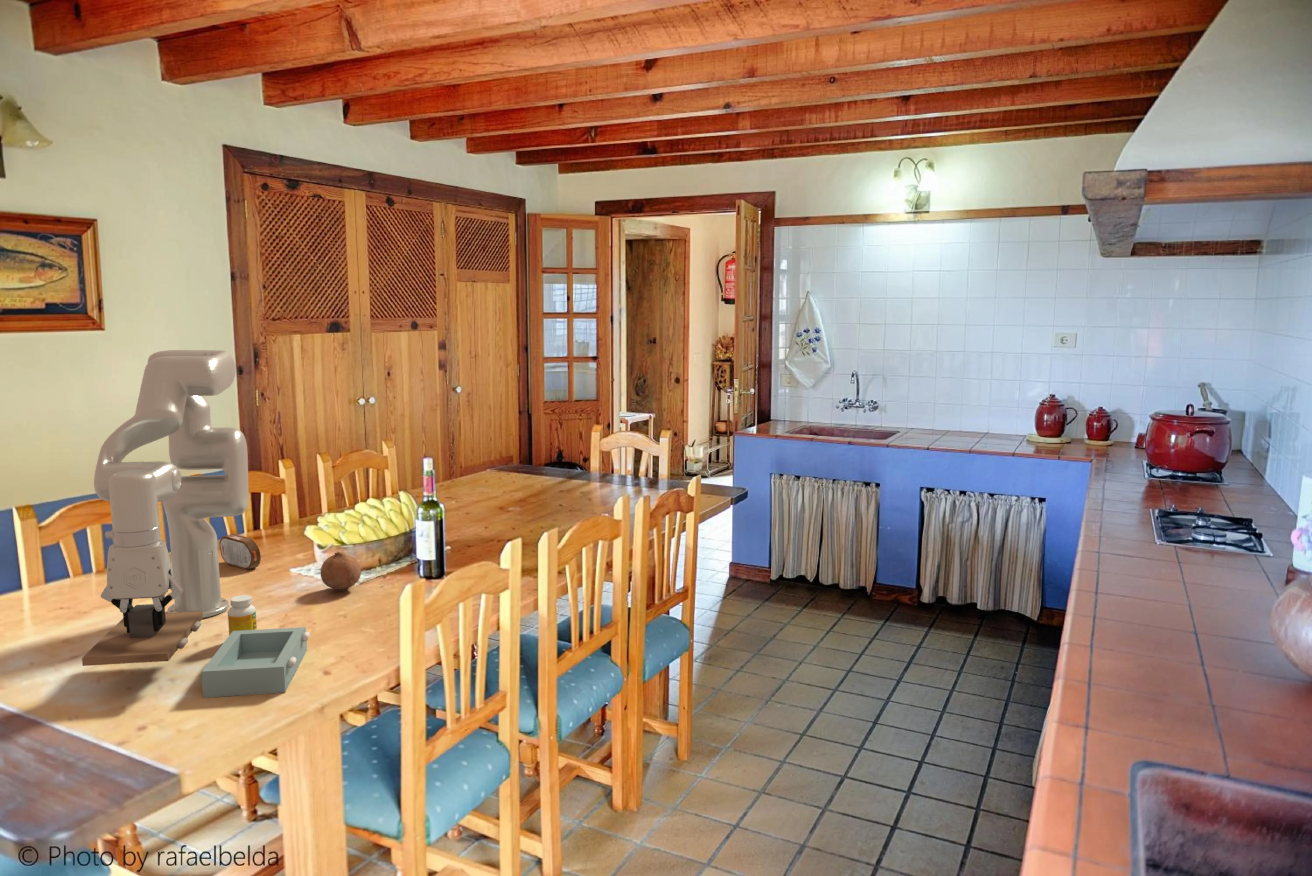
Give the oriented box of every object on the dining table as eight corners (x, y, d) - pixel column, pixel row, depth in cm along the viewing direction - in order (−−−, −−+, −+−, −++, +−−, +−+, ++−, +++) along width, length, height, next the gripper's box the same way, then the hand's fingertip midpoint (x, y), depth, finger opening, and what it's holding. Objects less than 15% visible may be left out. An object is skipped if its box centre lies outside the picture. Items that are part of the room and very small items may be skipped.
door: (127, 622, 175) (124, 591, 174) (209, 618, 178) (206, 587, 176) (82, 665, 156) (79, 631, 154) (175, 660, 158) (172, 627, 157)
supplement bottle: (228, 639, 186) (225, 596, 184) (256, 635, 188) (253, 592, 187) (230, 648, 181) (227, 603, 180) (258, 643, 184) (256, 599, 182)
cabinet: (234, 654, 178) (232, 631, 177) (313, 650, 181) (312, 626, 180) (203, 697, 158) (201, 671, 158) (292, 692, 161) (290, 666, 161)
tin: (262, 570, 234) (260, 539, 232) (251, 573, 231) (249, 542, 230) (229, 560, 241) (227, 531, 240) (218, 563, 239) (216, 533, 238)
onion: (315, 590, 218) (313, 551, 216) (351, 582, 224) (349, 544, 223) (331, 599, 211) (330, 559, 209) (368, 591, 217) (367, 552, 216)
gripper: (78, 544, 158) (88, 640, 161) (179, 541, 161) (186, 635, 164) (96, 532, 165) (105, 624, 168) (192, 529, 168) (199, 619, 171)
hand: (145, 628), depth 166 cm, fingers closed on door, 4 cm apart
